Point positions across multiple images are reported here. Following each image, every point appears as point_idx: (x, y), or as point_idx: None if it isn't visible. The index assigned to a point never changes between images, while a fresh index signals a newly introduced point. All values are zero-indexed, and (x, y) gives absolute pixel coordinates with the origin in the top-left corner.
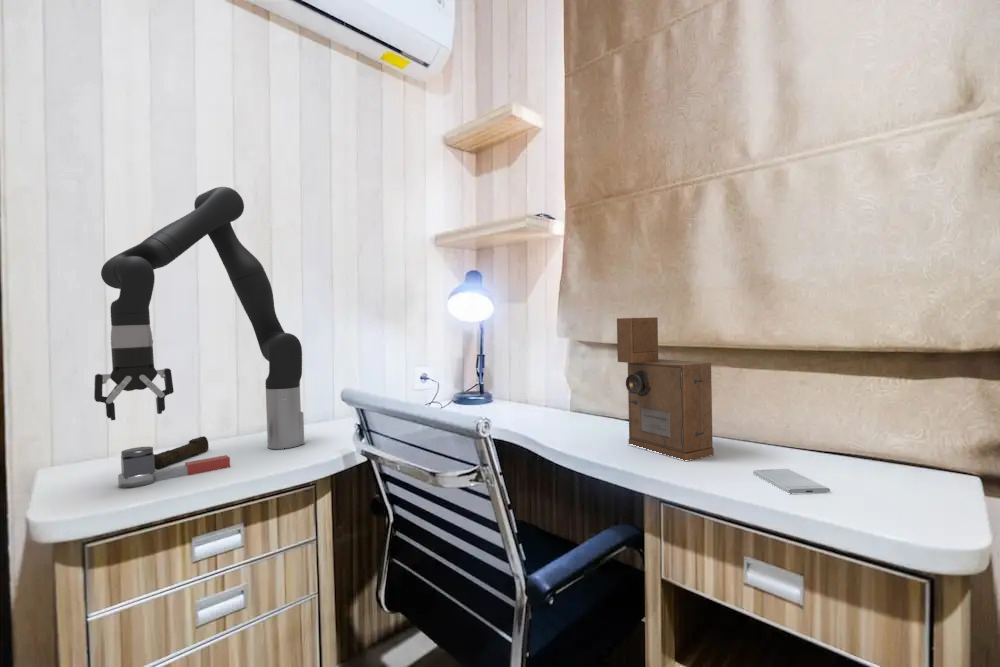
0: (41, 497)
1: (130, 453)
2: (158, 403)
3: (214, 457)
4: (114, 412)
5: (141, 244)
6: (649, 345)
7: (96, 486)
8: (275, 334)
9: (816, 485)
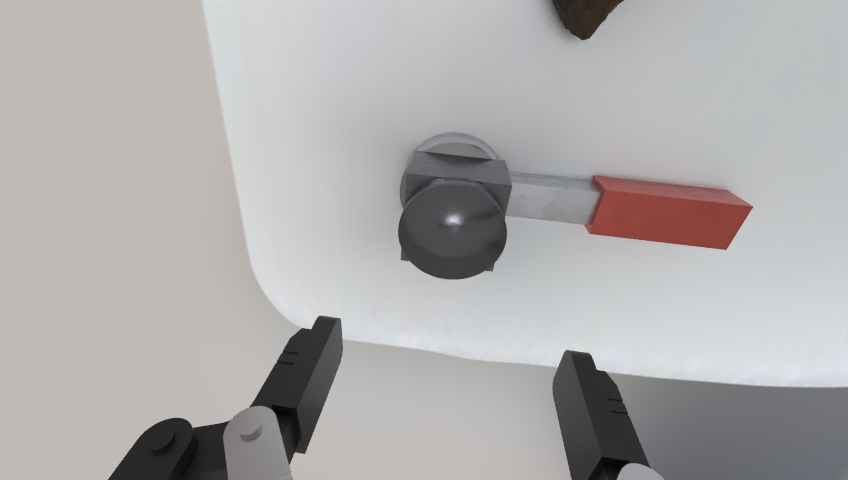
0: (225, 102)
1: (421, 268)
2: (569, 455)
3: (705, 205)
4: (325, 394)
5: None
6: None
7: (354, 107)
8: None
9: None
